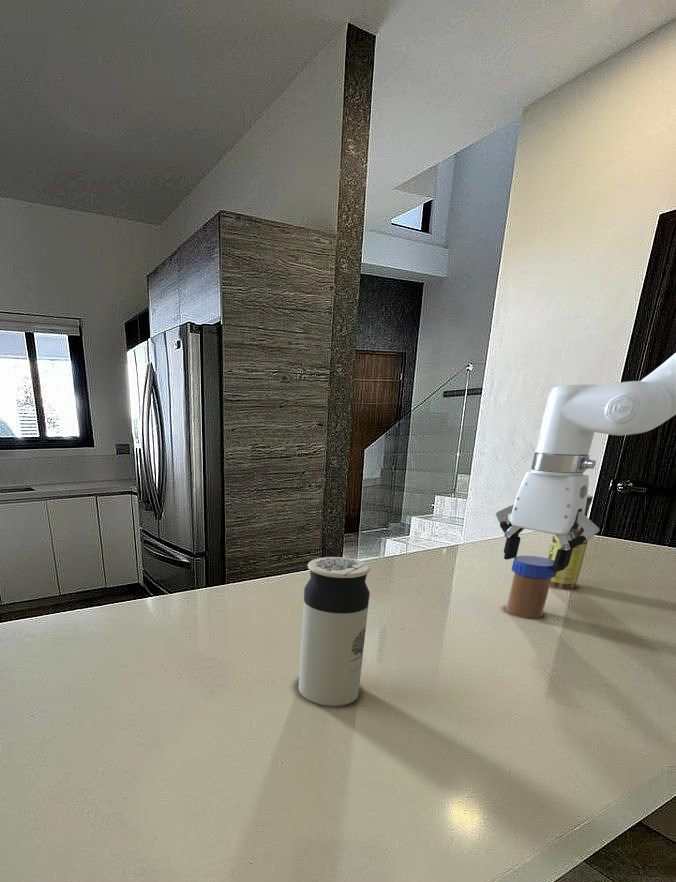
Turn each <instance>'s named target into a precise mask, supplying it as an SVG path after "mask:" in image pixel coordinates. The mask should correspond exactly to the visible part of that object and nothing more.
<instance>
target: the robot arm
mask: <svg viewBox="0 0 676 882" xmlns="http://www.w3.org/2000/svg"><path fill="white" fill-rule="evenodd" d="M675 415H676V352H675V353H674V354H672V355H671V356H669V358H668V359H666V360H665V361H664V362H663V363H661V364H660V365H659V366H658V367H656V368H655V369H654V370H653V371H652V372H650V373H649V374H647V375H646V376H645V377H643V378H642V379H641V380H630V381H622V382H616V383H609V384H602V385H601V384H600V385H597V384H564V385H559V386H555V387H554V388H552V390H551V391H550V392H549V393H548V396H547V399H546V404H545V409H544V412H543V417H542V422H541V424H540V425H541V426H540V430H539V433H538V439H537V443H536V447H535V451H534V455H533V456H534V457H533V459H532V464H531V468H530V470H527V471H526V473H525V475H524V477H523V479H522V481H521V483H520V486H519V488H518V491H517V493H516V496H515V499H514V503H513V504H512V505H510V506H507V507H504V508H503V509H501V510H498V511H497V512H496V513H495V517H496V518H497V521H498V523H499V527H500V529H501V530H502V533H504V534H503V535H504V538H506V539H505V544H504V548H503V554H504V555H503V560H511V559H514V558H515V557H517V556H518V552H519V547H520V544H521V536H519V535H520V534H521V533H522V532H523V531H524V530H530V531H534V532H540V533H545V534H551V535H553V534H555V535H557V536H558V539H559V541H560V544H561V549H558V550H557V553H556V557H555V560H554V564H553V568H552V570H553V571H555V572H558V571H561V570H564V569H565V568H566V567H567V566H568V565H569V562H570V558H571V554H572V551H573V548H576V547H577V546H579V545H581V544H583V543H585V542H586V541H589V540H590V539H591V538H593V537H594V536H595V535H596V534H598V533H599V532H600V527H598V526H597V525H596V524H595V523H594V522H593V521H592V520H591V519H590V518H589V517H588V516H587V517H586V516H585V515H584V514H585V509H586V503H587V496H588V495H589V484H590V475H588V474H584V472H585V473H586V470H593V469H594V468H595V467H596V465H597V461H596V460H594V459H590V451H591V447H592V443H593V439H594V436H595V433H597V434H605V435H610V436H631V435H638V434H643V433H647V432H649V431H652V430H654V429H656V428H658V427H659V426H661V425H662V424H665V422H667V421H669V420H670V419H671V418H673V417H674V416H675ZM509 515H510V520H509ZM581 527H582V528H583V529H584V532H583V533H582V534H581V535H580V536H578V537H576V538H575V536H574V534H573V532H577V531H579V530H580V528H581Z"/></svg>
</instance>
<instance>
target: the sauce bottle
mask: <svg viewBox="0 0 676 882" xmlns="http://www.w3.org/2000/svg"><path fill="white" fill-rule="evenodd" d="M593 499H594V497H593V496H592V495H589V494H588V496H587V503H586V509H585V514H584V515H585V516H586V517H587V518H588V513H589V510H590V506H591V504H592V502H593ZM583 532H584V529H583V528H582V527H581V528H580V530H579V531H577V532H573V534H574V536H575V538H576V537H578V536H580V535H581V534H582V533H583ZM588 541H589V540H588ZM588 541H586V542H585V543H583V544H581V545H579V546H577V547H576V548H573V551H572V554H571V558H570V562H569V565H568V566H567V567H566V568H565V569H564V570H561V571H558V572H557V574H556V576H555V577H553V578H552V579H551V583H550V587H549V588H554V589H560V590H572V589H574V588H575V587H576V585H577V582H578V579H579V576H580V572H581V568H582V565H583V561H584V558H585V553H586V550H587V546H588ZM558 549H561V544H560V541H559V539H558V536H557V535H555V534H552V537H551V542H550V545H549V549H548V554H547V558H548V559H552V560H555V557H556V553H557V550H558Z"/></svg>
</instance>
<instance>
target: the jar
mask: <svg viewBox="0 0 676 882" xmlns="http://www.w3.org/2000/svg"><path fill="white" fill-rule="evenodd" d="M551 579H552V578H548V579H543V578H531V577H526V576H522V575H519V574H516V573H514V572H513V576H512V581H511V585H510V589H509V594H508V599H507V604H506V608H505V611H506V612H507V613H509V614H510V615H512V616H516V617H519V618H523V619H540V618H542V617H543V614H544V611H545V607H546V602H547V598H548V594H549V592H550V591H549V590H550V588H551V587H550V583H551Z"/></svg>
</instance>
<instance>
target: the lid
mask: <svg viewBox="0 0 676 882" xmlns="http://www.w3.org/2000/svg"><path fill="white" fill-rule="evenodd" d="M553 564H554V560H552V559H548V557H544V556H543V557H542V556H536V555H517V556H516V557H515V558H513V561H512V565H511V572H512V573H513V574H514V573H516V574H519V575H522V576H526V577H531V578H543V579H548V578H553V577H555V576H556V574H557V572H555V571H553V570H552V568H553Z"/></svg>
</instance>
